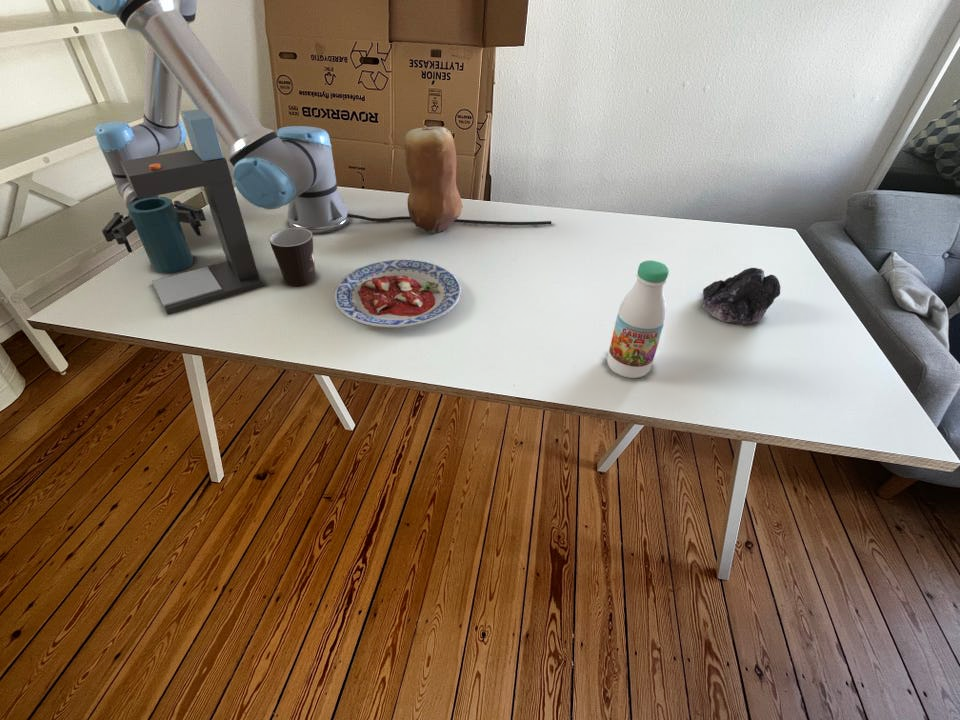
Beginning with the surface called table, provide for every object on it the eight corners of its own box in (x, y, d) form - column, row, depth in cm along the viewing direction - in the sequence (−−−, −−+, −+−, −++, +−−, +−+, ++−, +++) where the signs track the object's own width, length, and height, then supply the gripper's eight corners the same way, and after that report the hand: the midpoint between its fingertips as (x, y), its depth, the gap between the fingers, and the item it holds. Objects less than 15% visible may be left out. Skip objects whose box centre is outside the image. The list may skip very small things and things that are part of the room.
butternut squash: (422, 215, 140) (417, 116, 124) (469, 223, 137) (470, 123, 121) (399, 236, 130) (391, 132, 114) (449, 246, 127) (447, 139, 111)
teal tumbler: (198, 254, 121) (177, 196, 112) (186, 272, 114) (163, 212, 105) (161, 255, 120) (136, 197, 111) (147, 273, 113) (120, 212, 105)
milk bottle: (601, 352, 96) (622, 255, 83) (642, 351, 96) (669, 254, 84) (613, 380, 90) (638, 279, 77) (656, 378, 90) (688, 278, 78)
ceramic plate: (331, 340, 97) (329, 327, 95) (338, 271, 116) (336, 259, 114) (468, 330, 100) (469, 317, 98) (453, 264, 120) (453, 253, 118)
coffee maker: (153, 285, 110) (81, 119, 89) (244, 261, 119) (198, 105, 98) (167, 314, 102) (91, 139, 81) (264, 285, 111) (218, 121, 90)
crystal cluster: (686, 311, 108) (702, 272, 101) (713, 282, 115) (729, 244, 108) (749, 341, 102) (771, 302, 95) (773, 308, 110) (795, 270, 102)
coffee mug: (309, 291, 109) (300, 248, 103) (272, 286, 111) (260, 243, 104) (332, 265, 118) (325, 224, 112) (297, 260, 119) (288, 220, 113)
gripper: (204, 207, 132) (229, 239, 119) (91, 231, 120) (104, 269, 107) (195, 178, 127) (219, 208, 114) (76, 200, 115) (88, 236, 102)
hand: (163, 238), depth 111 cm, fingers open, 13 cm apart
